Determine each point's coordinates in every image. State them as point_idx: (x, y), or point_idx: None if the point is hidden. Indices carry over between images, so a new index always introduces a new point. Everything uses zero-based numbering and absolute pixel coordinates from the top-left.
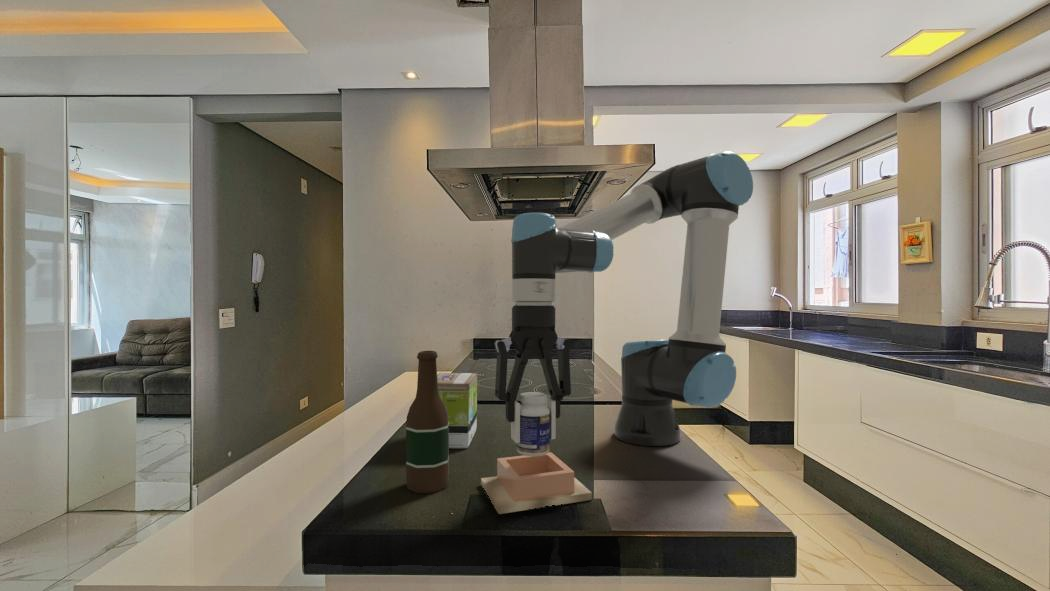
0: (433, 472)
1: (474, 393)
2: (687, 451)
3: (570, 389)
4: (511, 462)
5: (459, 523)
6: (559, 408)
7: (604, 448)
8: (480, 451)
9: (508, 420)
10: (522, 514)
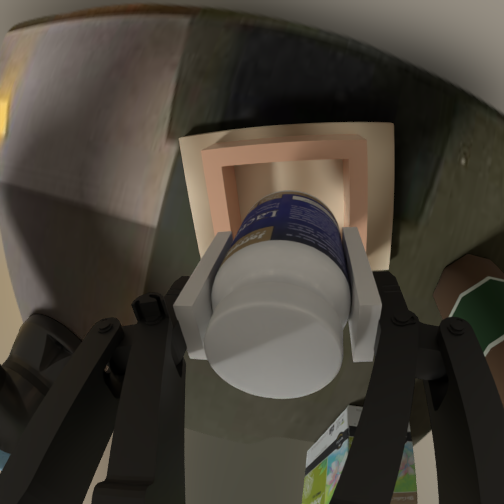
0: (485, 270)
1: (316, 496)
2: (20, 288)
3: (88, 334)
4: None
5: (459, 116)
6: (167, 297)
7: None
8: (332, 392)
9: (392, 275)
10: (343, 107)
